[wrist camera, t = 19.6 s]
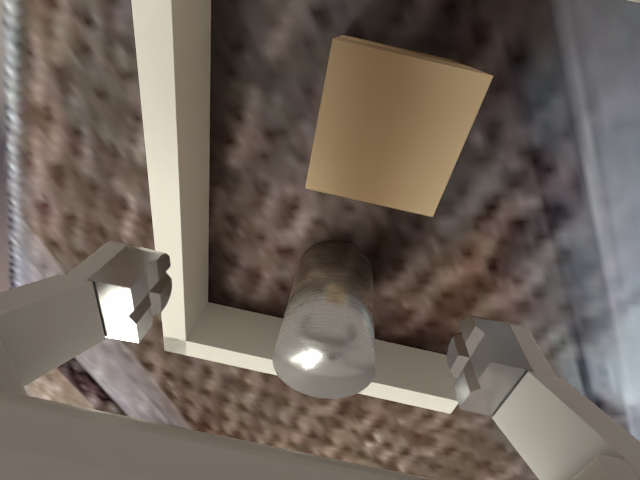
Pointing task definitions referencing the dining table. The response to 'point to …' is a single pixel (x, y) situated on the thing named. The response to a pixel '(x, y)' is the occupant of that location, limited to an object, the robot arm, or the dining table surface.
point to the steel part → (329, 324)
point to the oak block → (392, 124)
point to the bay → (193, 214)
